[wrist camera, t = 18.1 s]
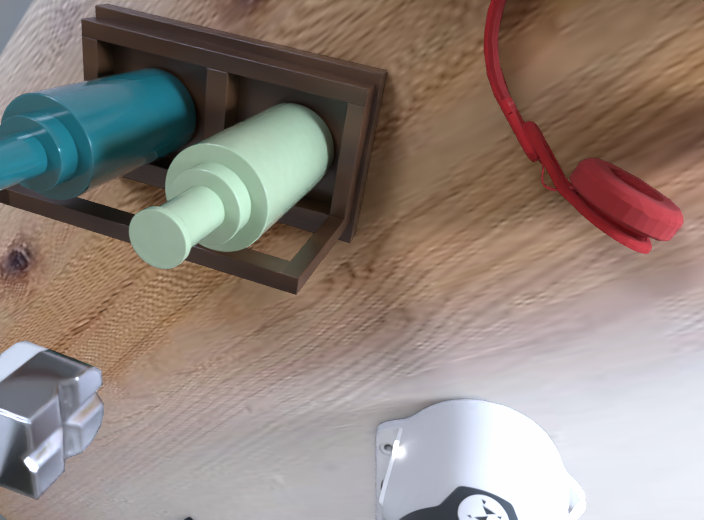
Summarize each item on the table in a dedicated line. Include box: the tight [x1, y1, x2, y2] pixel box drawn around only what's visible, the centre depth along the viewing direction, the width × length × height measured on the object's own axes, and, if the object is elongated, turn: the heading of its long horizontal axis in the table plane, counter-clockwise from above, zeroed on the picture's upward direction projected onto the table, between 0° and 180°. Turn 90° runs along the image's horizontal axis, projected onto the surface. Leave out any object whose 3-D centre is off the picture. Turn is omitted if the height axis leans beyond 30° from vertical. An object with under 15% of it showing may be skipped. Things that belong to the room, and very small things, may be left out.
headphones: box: [484, 0, 683, 254], centre depth 35 cm, size 15×7×20 cm
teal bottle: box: [0, 68, 196, 200], centre depth 38 cm, size 6×6×18 cm
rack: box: [0, 4, 387, 295], centre depth 41 cm, size 13×22×13 cm, turn 80°
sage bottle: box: [129, 103, 334, 269], centre depth 37 cm, size 6×6×18 cm
